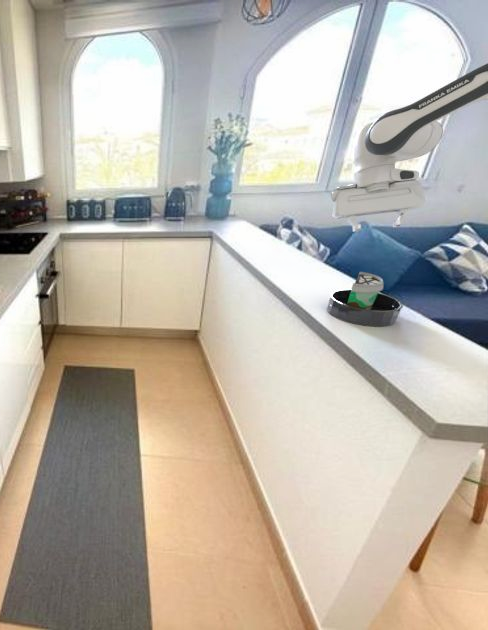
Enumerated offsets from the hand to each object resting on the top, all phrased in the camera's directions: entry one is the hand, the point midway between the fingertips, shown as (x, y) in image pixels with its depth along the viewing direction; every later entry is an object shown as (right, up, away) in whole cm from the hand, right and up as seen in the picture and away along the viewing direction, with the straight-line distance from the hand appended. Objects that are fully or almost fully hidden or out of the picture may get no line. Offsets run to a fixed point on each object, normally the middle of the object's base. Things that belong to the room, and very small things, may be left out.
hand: (377, 228), depth 99 cm
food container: (-6, -24, -1) cm, 25 cm away
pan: (-6, -25, -1) cm, 25 cm away
